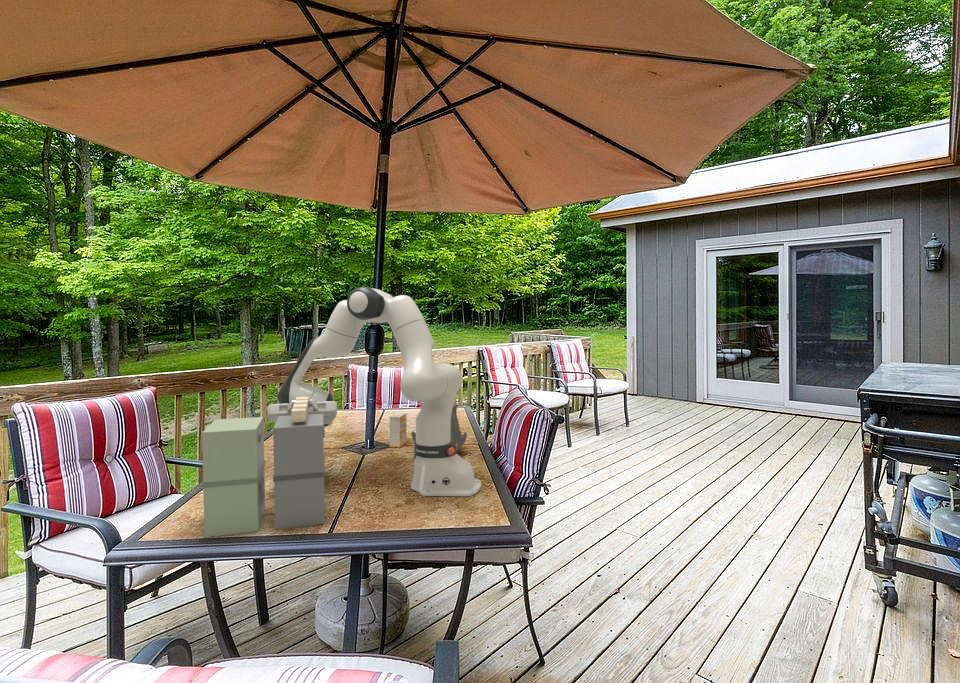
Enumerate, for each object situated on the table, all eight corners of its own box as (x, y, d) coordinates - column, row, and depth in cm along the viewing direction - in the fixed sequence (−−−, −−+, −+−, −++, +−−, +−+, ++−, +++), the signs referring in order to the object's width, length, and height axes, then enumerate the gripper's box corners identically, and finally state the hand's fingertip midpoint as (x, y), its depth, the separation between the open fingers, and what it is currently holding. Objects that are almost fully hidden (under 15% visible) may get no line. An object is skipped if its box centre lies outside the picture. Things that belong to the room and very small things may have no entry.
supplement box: (400, 448, 204) (400, 416, 204) (389, 447, 205) (389, 416, 205) (407, 443, 212) (407, 412, 212) (396, 442, 213) (396, 412, 213)
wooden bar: (296, 407, 150) (296, 397, 149) (308, 406, 151) (308, 396, 150) (291, 422, 128) (291, 410, 127) (306, 421, 129) (305, 410, 129)
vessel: (462, 444, 210) (462, 397, 209) (469, 459, 188) (469, 407, 187) (411, 446, 207) (411, 399, 206) (411, 461, 185) (411, 408, 184)
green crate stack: (217, 512, 136) (214, 419, 135) (266, 507, 140) (264, 416, 139) (203, 538, 121) (200, 432, 119) (259, 531, 125) (257, 429, 123)
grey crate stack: (279, 506, 141) (277, 416, 140) (325, 501, 145) (324, 413, 144) (273, 529, 126) (271, 428, 124) (325, 523, 129) (324, 425, 128)
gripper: (269, 410, 156) (264, 394, 145) (336, 406, 163) (337, 390, 151) (268, 429, 154) (263, 414, 142) (337, 424, 160) (337, 410, 148)
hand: (302, 402), depth 146 cm, fingers closed on wooden bar, 3 cm apart
